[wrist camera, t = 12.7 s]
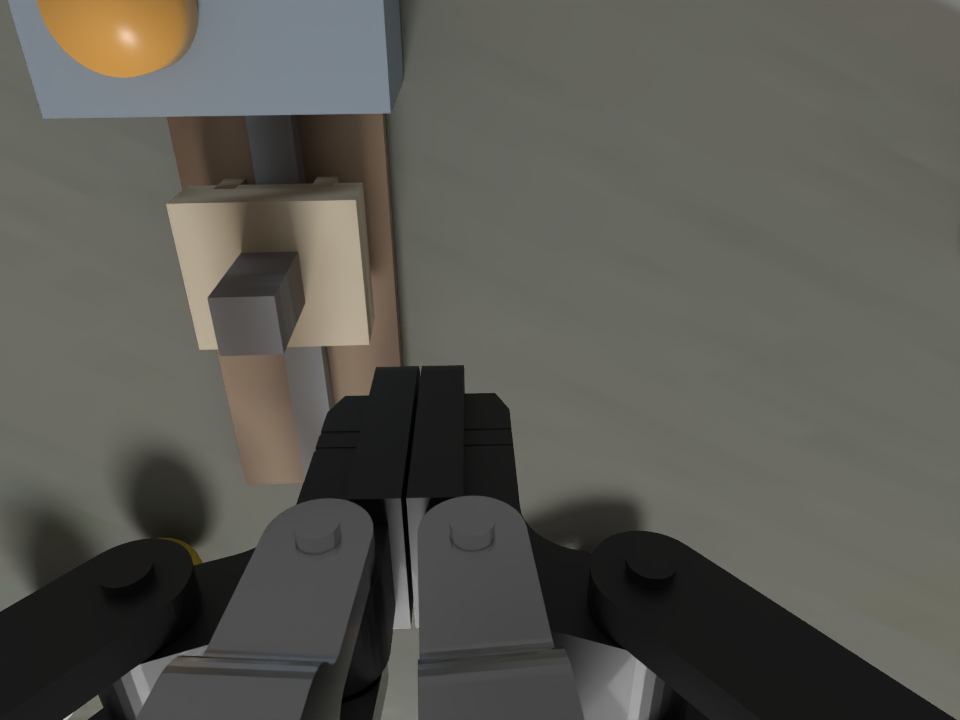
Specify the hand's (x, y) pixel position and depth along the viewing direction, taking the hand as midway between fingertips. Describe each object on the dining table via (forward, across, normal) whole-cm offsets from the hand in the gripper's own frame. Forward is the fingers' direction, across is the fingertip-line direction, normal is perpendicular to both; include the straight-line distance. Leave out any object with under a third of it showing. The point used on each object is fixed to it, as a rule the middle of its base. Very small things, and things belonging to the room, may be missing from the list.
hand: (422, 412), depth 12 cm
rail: (+25, +8, +9) cm, 28 cm away
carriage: (+23, +8, +5) cm, 25 cm away
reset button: (+15, +10, -6) cm, 19 cm away
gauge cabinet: (+25, +8, -6) cm, 27 cm away
